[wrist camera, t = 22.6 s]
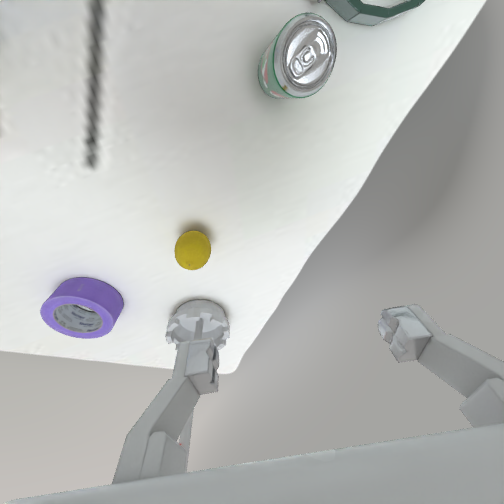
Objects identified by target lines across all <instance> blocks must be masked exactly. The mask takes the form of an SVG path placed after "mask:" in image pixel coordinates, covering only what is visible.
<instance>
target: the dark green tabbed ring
mask: <svg viewBox="0 0 504 504" xmlns="http://www.w3.org/2000/svg"><path fill="white" fill-rule="evenodd" d="M321 1H322V0H318V3H320V2H321ZM325 1H326V3H327V4H328V5H329V6H331V7H332V8H333V9H334V10H335V11H336V12H337V13H338V14H339V15H340V16H341V17H342V18H343V19H344V20H345V21H347V22H351V23H357V24H363V25H369V26H372V25H373V26H374V25H377V24H379V23H382V22H384V21H387V20H390V19H392V18H395V17H397V16H400V15H402V14H404V13H406V12H408V11H410V10H412V9H414V8H416V7H418V6H420V5H421V4H422V3H423V2H424V1H425V0H406V1H405V2H404V3H402V4H399V5H396V6H394V7H391V8H385V7H379V6H374V5H369V4H363V3H362V2H361V1H360V0H325Z"/></svg>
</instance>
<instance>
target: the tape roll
mask: <svg viewBox="0 0 504 504" xmlns="http://www.w3.org/2000/svg"><path fill="white" fill-rule="evenodd" d="M76 305H80V306H84V307H87V308H89V309H91V310H93V311H94V312H96V313H94V312H88V311H85V310H83V309H80V308H79V307H77V306H76ZM122 309H123V299H122V297H121V295H120V294H119V293H118V292H117V290H115V289H114V288H113V287H111V286H110V285H108V284H106V283H104V282H102V281H99V280H96V279H92V278H72V279H69V280H67V281H65V282H63V283H62V284H61V285H60V286H59V287H58V288H57V289H56V290H55V292H54V293H53V294H52V295H51V296H50V297H49V298H48V299H47V300H46V301H45V302H44V304H43V305H42V307H41V310H40V313H41V316H42V319H43V320H44V321H45V323H46V324H47V325H49V326H50V327H51V328H53V329H54V330H56V331H58V332H60V333H62V334H65V335H68V336H71V337H76V338H86V339H89V338H98V337H102V336H104V335H106V334H108V333H109V332H110V331H111V330H112V328H113V326H114V324H115V322H116V321H117V319H118V317H119V315H120V313H121V311H122Z"/></svg>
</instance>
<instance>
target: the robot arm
mask: <svg viewBox="0 0 504 504" xmlns="http://www.w3.org/2000/svg"><path fill="white" fill-rule="evenodd" d="M381 315H382V318H381V319H380V320H379V322H378V330H379V332H380V335H381V336H382V338H383V340H385V341H386V342H388V343H389V344H390V348H389V349H390V350H391V352H392V354H393V355H394V357H395V358H396V360H397V361H398V362H406V361H414V360H418V362H419V363H421V364H422V365H423V366H425V367H426V368H427V369H429V370H430V371H431V372H433V373H434V374H435V375H437V376H438V377H439V378H441V379H442V380H443V381H445V382H446V383H447V384H449V385H450V386H451V387H453V388H454V389H455V390H457V391H458V392H459V393H461V394H462V395H464V396H465V397H466V398H467V399H466V400H465V401H464V402H463V403H462V404H461V405H460V410H461V411H462V413H463V414H464V416H465V417H466V418H467V420H468V421H469V422H470V424H471V425H472V426H473V428H467V429H460V430H454V431H447V432H441V433H435V434H428V435H423V436H416V437H410V438H403V439H397V440H390V441H384V442H378V443H372V444H365V445H359V446H352V447H346V448H340V449H334V450H327V451H320V452H314V453H308V454H301V455H295V456H289V457H283V458H276V459H270V460H263V461H257V462H251V463H244V464H238V465H231V466H226V467H219V468H213V469H207V470H200V471H193V472H188V473H185V464H186V454H187V452H186V450H185V449H184V448H183V447H182V446H181V445H180V444H179V443H177V442H176V441H177V439H178V437H179V435H180V433H181V431H182V430H183V428H184V426H185V424H186V422H187V420H188V418H189V416H190V414H191V413H192V411H193V409H194V407H195V405H196V403H197V401H198V399H199V397H200V395H202V394H207V393H212V392H217V391H218V380H219V376H218V374H217V371H216V370H217V369H218V367H219V353H218V349H217V347H216V346H214V340H213V338H205V339H199V340H191V341H185V342H180V344H179V346H178V351H177V356H176V361H175V366H174V370H173V376H172V379H169V380H168V381H167V382H166V384H165V385H164V386H163V388H162V389H161V390H160V391H159V393H158V394H157V395H156V397H155V398H154V400H153V401H152V402H151V404H150V405H149V406H148V408H147V409H146V410H145V412H144V413H143V414H142V416H141V417H140V418H139V420H138V421H137V422H136V424H135V425H134V426H133V428H132V429H131V430H130V432H129V433H128V434H127V436H126V439H125V443H124V446H123V449H122V452H121V456H120V459H119V462H118V465H117V469H116V472H115V475H114V479H113V482H112V484H111V485H104V486H98V487H92V488H86V489H79V490H73V491H66V492H60V493H54V494H48V495H41V496H35V497H28V498H21V499H16V500H11V501H9V502H6V503H4V504H504V361H502V360H500V359H498V358H496V357H494V356H492V355H490V354H488V353H486V352H484V351H482V350H480V349H478V348H476V347H474V346H473V345H471V344H469V343H467V342H465V341H463V340H461V339H459V338H457V337H455V336H453V335H451V334H446V333H445V332H444V331H443V330H442V329H441V328H440V327H439V326H438V325H437V323H436V322H435V321H434V320H433V319H432V318H431V317H430V316H429V315H428V314H427V313H426V312H425V311H424V310H423V308H422V307H420V306H419V305H417V304H413V305H407V306H400V307H394V308H389V309H384V310H382V312H381Z"/></svg>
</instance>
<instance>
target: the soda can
mask: <svg viewBox="0 0 504 504" xmlns="http://www.w3.org/2000/svg"><path fill="white" fill-rule="evenodd" d="M336 51H337V47H336V39H335V35H334V32H333V30H332V28H331V26H330V25H329V24H328V23H327V21H326V20H325V19H323V18H322V17H321V16H319V15H317V14H314V13H302V14H299V15H297V16H295V17H294V18H292V19H291V20H290V21H289V22H287V23H286V25H285V26H284V27H283V28H282V30H281V31H280V32H279V34H278V35H277V36H276V37H275V39H274V40H273V41H272V43H271V44H270V45H269V47H268V48H267V49H266V51H265V52H264V53H263V55H262V57H261V59H260V62H259V67H258V78H259V82H260V85H261V87H262V89H263V90H264V92H265V93H266V94H267V95H269V96H270V97H273V98H305V97H309V96H311V95H313V94H315V93H316V92H318V91H319V90H320V89H321V88H322V87H323V86H324V84H325V83H326V82H327V80H328V78H329V77H330V75H331V72H332V70H333V67H334V63H335V59H336Z"/></svg>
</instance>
